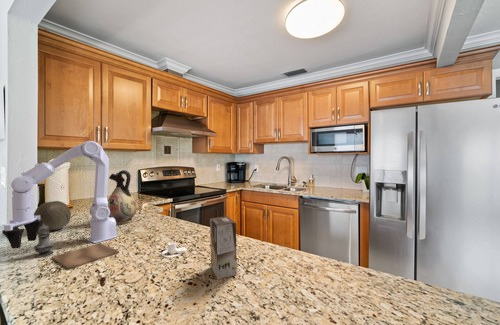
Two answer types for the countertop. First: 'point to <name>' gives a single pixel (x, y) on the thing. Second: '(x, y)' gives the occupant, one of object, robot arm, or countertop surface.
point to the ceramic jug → (121, 199)
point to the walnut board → (84, 255)
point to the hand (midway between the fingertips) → (24, 244)
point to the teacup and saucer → (173, 249)
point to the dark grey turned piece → (44, 242)
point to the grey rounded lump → (54, 214)
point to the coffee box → (223, 247)
